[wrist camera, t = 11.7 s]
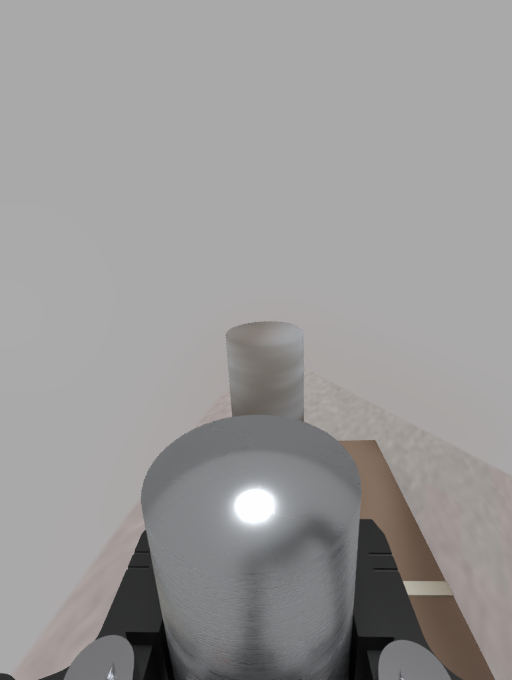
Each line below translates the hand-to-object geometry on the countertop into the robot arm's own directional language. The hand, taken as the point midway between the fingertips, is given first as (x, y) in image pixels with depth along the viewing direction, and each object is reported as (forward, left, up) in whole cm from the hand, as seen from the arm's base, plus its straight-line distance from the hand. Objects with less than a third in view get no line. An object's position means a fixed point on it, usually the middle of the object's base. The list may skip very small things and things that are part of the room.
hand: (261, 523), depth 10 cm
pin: (0, +3, -6) cm, 7 cm away
